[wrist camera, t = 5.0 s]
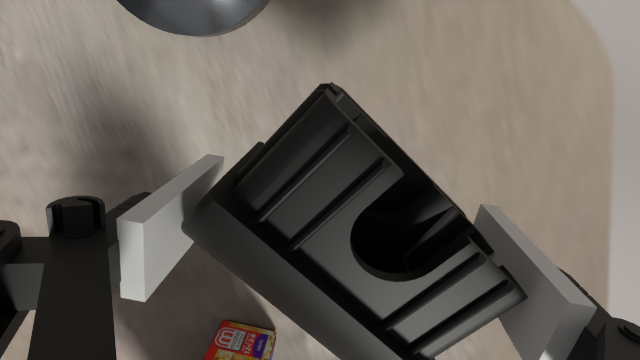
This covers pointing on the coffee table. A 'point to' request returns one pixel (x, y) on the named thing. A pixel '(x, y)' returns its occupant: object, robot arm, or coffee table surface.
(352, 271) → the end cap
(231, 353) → the popcorn box
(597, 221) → the coffee table surface
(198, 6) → the plate
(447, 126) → the coffee table surface
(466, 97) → the coffee table surface
